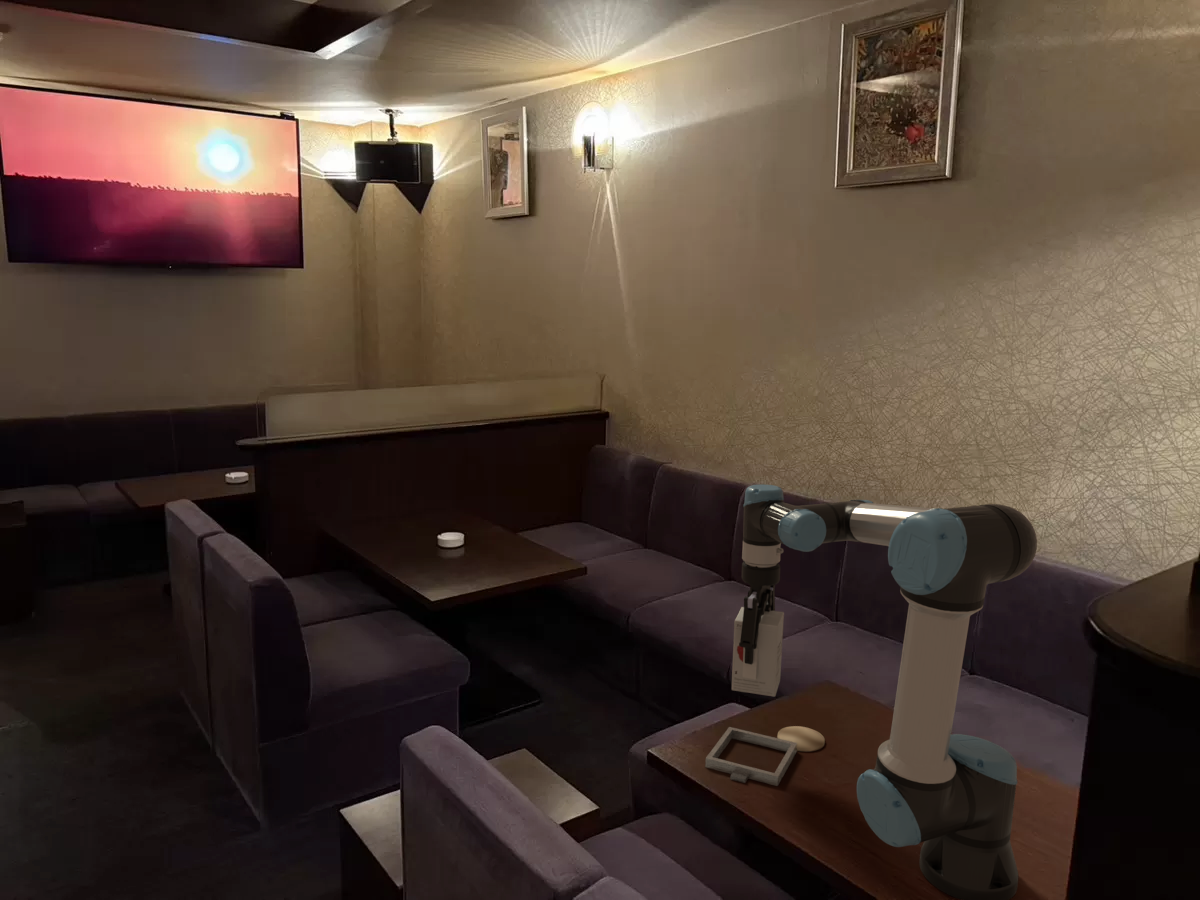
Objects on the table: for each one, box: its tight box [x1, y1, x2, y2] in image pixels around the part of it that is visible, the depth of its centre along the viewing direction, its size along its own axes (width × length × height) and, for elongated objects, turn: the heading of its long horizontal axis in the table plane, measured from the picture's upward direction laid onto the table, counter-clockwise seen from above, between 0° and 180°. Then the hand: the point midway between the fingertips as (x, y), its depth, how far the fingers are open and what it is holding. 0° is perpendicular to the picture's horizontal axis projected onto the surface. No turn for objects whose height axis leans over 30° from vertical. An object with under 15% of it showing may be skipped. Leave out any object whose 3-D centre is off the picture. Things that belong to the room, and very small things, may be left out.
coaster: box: [776, 725, 826, 753], centre depth 190 cm, size 10×10×1 cm
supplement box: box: [731, 606, 785, 697], centre depth 178 cm, size 9×9×15 cm
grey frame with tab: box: [704, 726, 798, 787], centre depth 182 cm, size 19×15×2 cm
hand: (757, 668), depth 178 cm, fingers closed on supplement box, 9 cm apart
